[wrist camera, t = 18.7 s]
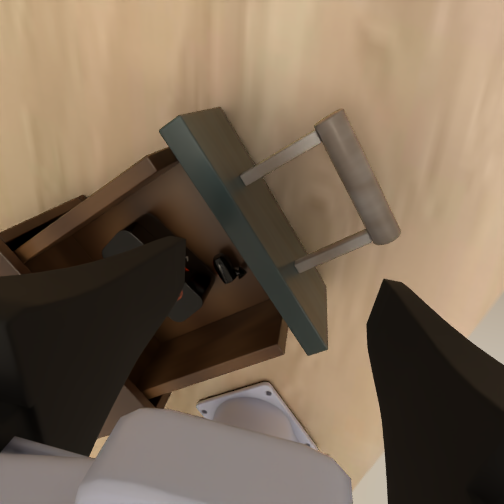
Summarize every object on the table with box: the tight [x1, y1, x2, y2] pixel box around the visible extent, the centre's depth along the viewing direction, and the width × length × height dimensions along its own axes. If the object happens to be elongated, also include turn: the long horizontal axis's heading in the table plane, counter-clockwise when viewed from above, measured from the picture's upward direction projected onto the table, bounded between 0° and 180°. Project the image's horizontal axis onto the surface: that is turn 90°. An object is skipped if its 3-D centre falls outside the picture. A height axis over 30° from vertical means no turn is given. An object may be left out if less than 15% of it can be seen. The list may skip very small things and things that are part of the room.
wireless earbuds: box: [102, 213, 247, 322], centre depth 20 cm, size 5×7×3 cm, turn 45°
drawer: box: [13, 107, 401, 399], centre depth 19 cm, size 20×13×6 cm, turn 122°
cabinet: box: [0, 195, 171, 439], centre depth 25 cm, size 15×14×8 cm
